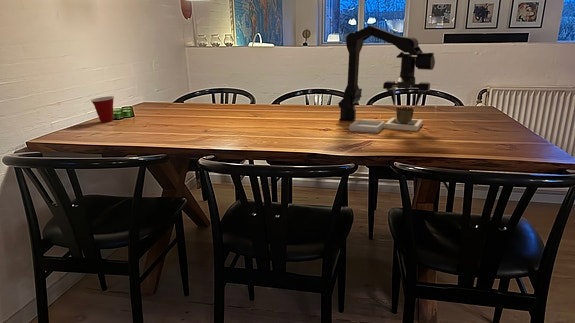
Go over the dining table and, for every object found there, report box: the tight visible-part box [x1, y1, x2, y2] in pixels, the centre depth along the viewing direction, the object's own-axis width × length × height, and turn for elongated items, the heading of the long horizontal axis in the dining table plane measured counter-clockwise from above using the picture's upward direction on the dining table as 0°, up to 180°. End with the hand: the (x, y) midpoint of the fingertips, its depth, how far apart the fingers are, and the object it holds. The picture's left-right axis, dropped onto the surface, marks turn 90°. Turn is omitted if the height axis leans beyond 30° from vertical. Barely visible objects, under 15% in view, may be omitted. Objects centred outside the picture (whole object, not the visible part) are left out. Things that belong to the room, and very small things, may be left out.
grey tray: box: [348, 118, 386, 134], centre depth 171 cm, size 12×12×2 cm
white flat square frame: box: [384, 117, 423, 132], centre depth 174 cm, size 14×14×2 cm
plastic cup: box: [90, 95, 115, 124], centre depth 197 cm, size 11×11×12 cm
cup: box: [395, 106, 415, 125], centre depth 173 cm, size 8×7×8 cm
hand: (405, 105), depth 171 cm, fingers open, 9 cm apart
